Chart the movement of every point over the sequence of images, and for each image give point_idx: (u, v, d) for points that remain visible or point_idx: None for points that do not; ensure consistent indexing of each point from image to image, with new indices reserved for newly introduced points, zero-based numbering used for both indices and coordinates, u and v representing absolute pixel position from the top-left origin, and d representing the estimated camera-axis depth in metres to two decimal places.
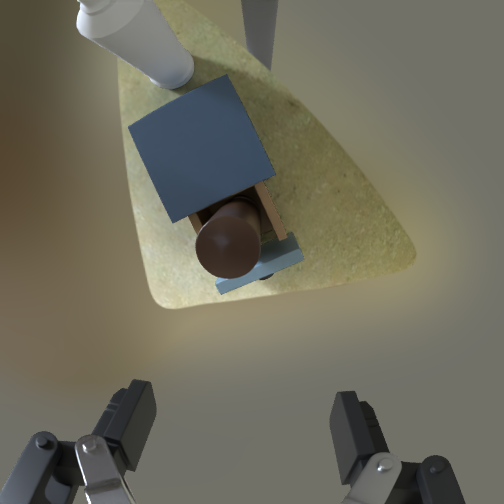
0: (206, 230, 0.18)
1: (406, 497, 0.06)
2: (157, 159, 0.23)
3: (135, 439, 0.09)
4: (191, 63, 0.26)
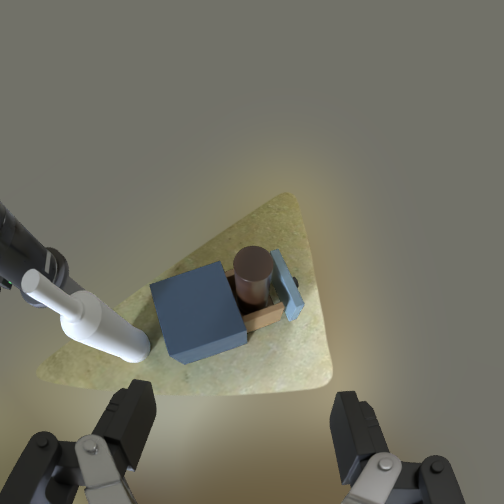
0: (241, 274, 0.30)
1: (406, 497, 0.06)
2: (198, 335, 0.33)
3: (135, 439, 0.09)
4: (134, 327, 0.40)
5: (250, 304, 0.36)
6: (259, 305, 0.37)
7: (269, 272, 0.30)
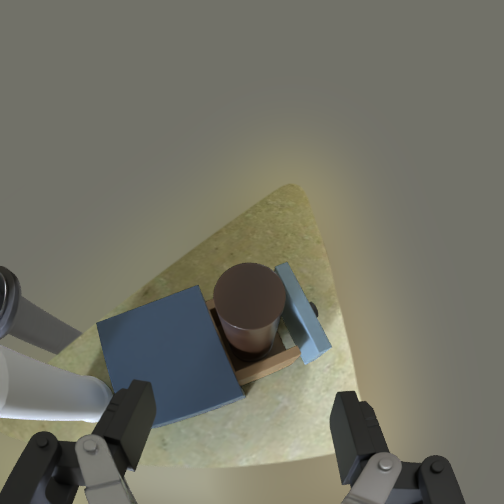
0: (228, 315, 0.16)
1: (406, 497, 0.06)
2: (168, 404, 0.19)
3: (135, 439, 0.09)
4: (89, 376, 0.26)
5: (247, 352, 0.22)
6: (262, 351, 0.23)
7: (279, 310, 0.16)
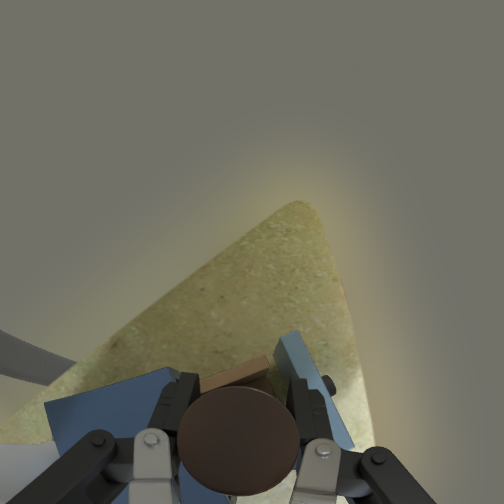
0: (202, 475, 0.07)
1: (348, 487, 0.07)
2: None
3: None
4: (54, 443, 0.17)
5: None
6: None
7: (288, 468, 0.08)
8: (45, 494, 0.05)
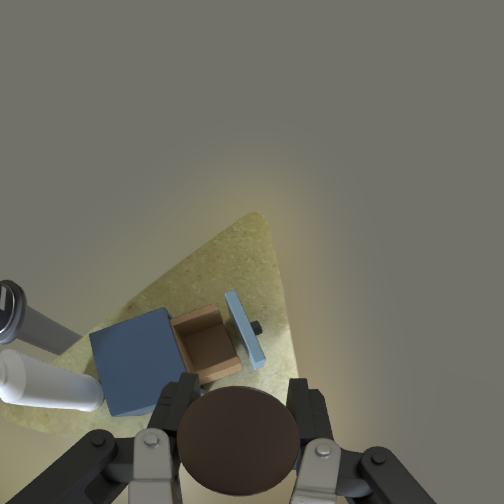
0: (202, 475, 0.07)
1: (348, 487, 0.07)
2: (140, 396, 0.26)
3: None
4: (84, 374, 0.32)
5: None
6: None
7: (287, 468, 0.08)
8: (45, 494, 0.05)
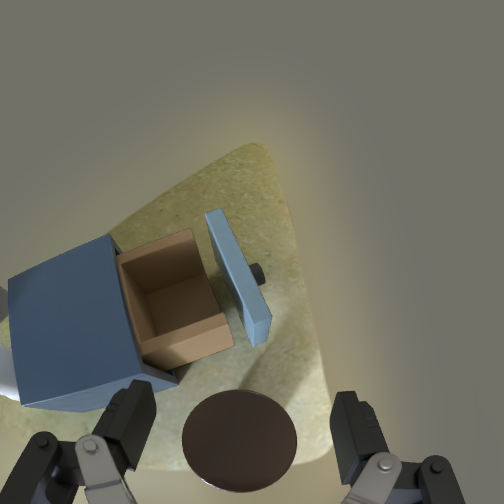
0: (205, 473, 0.08)
1: (406, 497, 0.06)
2: (59, 375, 0.14)
3: (135, 439, 0.09)
4: None
5: None
6: None
7: (285, 466, 0.08)
8: None
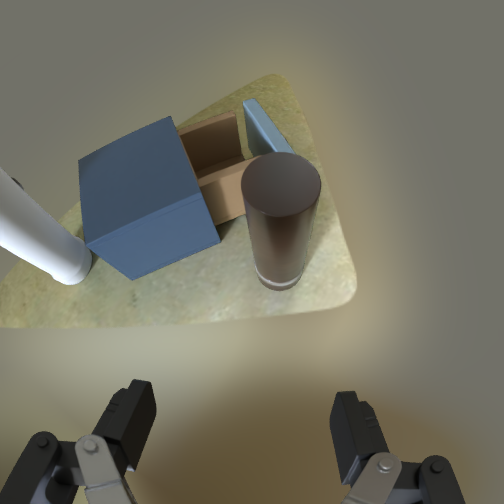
0: (258, 202, 0.14)
1: (406, 497, 0.06)
2: (127, 209, 0.20)
3: (135, 439, 0.09)
4: None
5: (278, 269, 0.21)
6: (293, 269, 0.21)
7: (315, 196, 0.14)
8: None
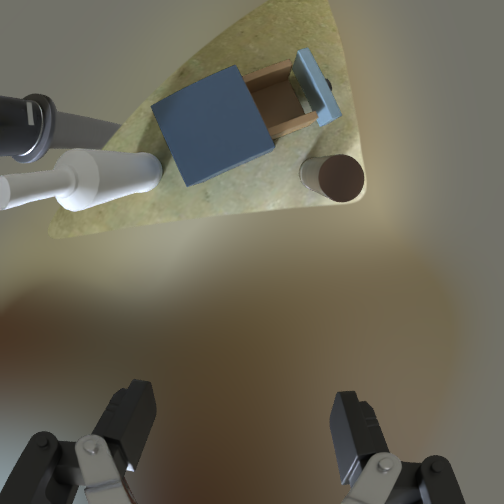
0: (328, 192, 0.24)
1: (406, 497, 0.06)
2: (218, 158, 0.28)
3: (135, 439, 0.09)
4: (140, 152, 0.34)
5: None
6: None
7: (359, 190, 0.24)
8: None
